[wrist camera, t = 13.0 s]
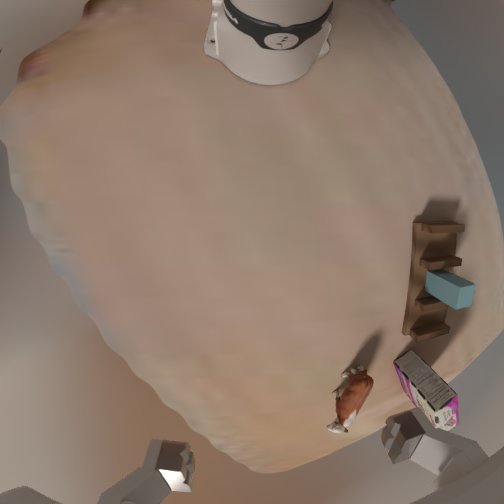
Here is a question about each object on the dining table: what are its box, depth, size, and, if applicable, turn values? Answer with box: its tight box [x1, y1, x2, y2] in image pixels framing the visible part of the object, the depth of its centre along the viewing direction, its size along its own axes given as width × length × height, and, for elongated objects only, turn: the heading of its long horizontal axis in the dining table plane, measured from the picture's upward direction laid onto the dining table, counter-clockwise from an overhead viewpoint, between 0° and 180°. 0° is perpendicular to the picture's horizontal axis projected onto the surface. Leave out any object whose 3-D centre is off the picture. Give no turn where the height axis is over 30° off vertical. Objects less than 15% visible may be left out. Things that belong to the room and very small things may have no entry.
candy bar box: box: [393, 349, 459, 432], centre depth 37 cm, size 11×5×16 cm, turn 32°
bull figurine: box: [327, 365, 373, 433], centre depth 41 cm, size 4×13×8 cm, turn 160°
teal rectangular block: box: [425, 269, 476, 310], centre depth 35 cm, size 4×4×9 cm
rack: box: [402, 221, 465, 342], centre depth 39 cm, size 20×10×4 cm, turn 4°
